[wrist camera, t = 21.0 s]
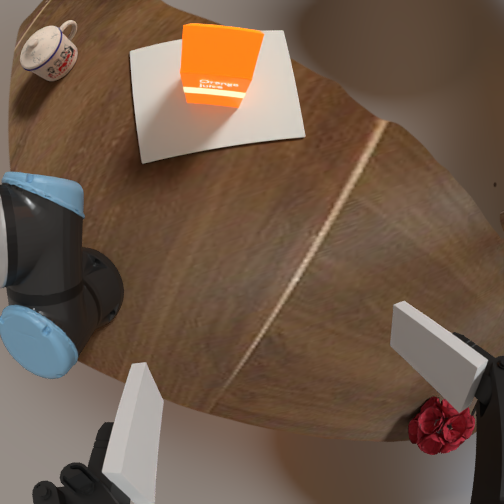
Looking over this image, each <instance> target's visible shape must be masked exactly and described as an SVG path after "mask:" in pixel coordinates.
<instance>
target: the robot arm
mask: <svg viewBox="0 0 504 504" xmlns="http://www.w3.org/2000/svg"><path fill="white" fill-rule="evenodd" d="M83 200H84V193H83V189H82V187H81V186H80V185H79V184H78V183H77V182H75V181H71V180H67V179H62V178H57V177H51V176H44V175H36V174H27V173H21V172H6V173H5V174H4V176H3V179H2V185H0V288H4V287H6V288H7V295H8V302H9V306H7V307H6V308H4V309H3V312H2V315H1V317H0V335H1V338H2V341H3V343H4V345H5V347H6V348H7V350H8V352H9V353H10V354H11V355H12V356H13V358H14V359H15V360H16V361H17V362H18V363H19V364H20V365H21V366H23V367H24V368H25V369H26V370H28V371H30V372H32V373H33V374H35V375H37V376H40V377H43V378H48V379H55V378H60V377H62V376H64V375H65V374H66V373H67V372H68V371H69V370H70V369H71V367H72V366H73V365H75V364H76V362H77V360H78V357H79V355H80V353H81V352H82V350H83V348H84V347H85V345H86V343H87V342H88V340H89V338H90V337H91V335H92V334H93V332H94V330H95V329H97V328H99V327H101V326H103V325H105V324H107V323H109V322H110V321H111V320H112V319H113V318H114V317H115V316H116V314H117V313H118V311H119V309H120V307H121V305H122V302H123V297H124V288H123V282H122V279H121V276H120V274H119V272H118V270H117V268H116V267H115V265H114V264H113V263H112V262H111V261H110V260H109V259H108V258H107V257H106V256H105V255H104V254H102V253H100V252H99V251H96V250H94V249H91V248H82V225H83V219H84V218H85V216H84V213H83ZM390 346H391V347H392V348H393V349H394V350H395V351H397V352H398V353H399V354H400V355H401V356H402V357H403V358H404V359H405V360H406V361H407V362H408V363H409V364H410V365H411V366H412V367H413V368H414V369H415V370H416V371H417V372H418V373H419V374H420V375H421V376H422V377H423V378H424V379H426V380H427V381H428V382H429V383H430V384H431V385H432V386H433V387H434V388H435V389H436V390H437V391H438V392H439V393H440V394H441V395H442V396H443V397H444V398H445V399H446V400H447V401H448V402H449V403H450V404H451V405H452V406H453V407H454V408H455V409H456V410H457V411H458V412H459V413H460V412H462V411H463V410H465V409H466V408H467V407H469V406H470V405H471V403H472V400H473V398H474V396H475V397H476V398H477V399H478V400H477V402H476V405H475V407H474V409H473V411H472V413H471V416H473V415H474V413H475V411H476V418H477V439H476V440H477V441H476V461H475V473H474V482H473V490H472V496H471V503H470V504H504V356H499V357H497V358H495V357H493V356H492V355H490V354H489V353H488V352H486V351H485V350H483V349H482V348H481V347H479V346H478V345H475V343H474V342H472V341H470V340H469V339H468V338H466V337H465V336H464V335H461V334H458V333H455V332H454V333H450V332H449V331H447V330H446V329H445V328H443V327H442V326H440V325H439V324H437V323H436V322H434V321H433V320H432V319H430V318H429V317H427V316H426V315H424V314H423V313H421V312H420V311H418V310H417V309H416V308H414V307H413V306H411V305H410V304H408V303H407V302H405V301H402V302H399V303H397V304H394V305H393V319H392V331H391V341H390ZM163 403H164V401H163V399H162V397H161V395H160V393H159V391H158V388H157V386H156V384H155V382H154V380H153V377H152V375H151V373H150V371H149V368H148V366H147V364H146V362H145V363H136V364H132V366H131V369H130V372H129V375H128V378H127V381H126V384H125V387H124V391H123V394H122V397H121V401H120V404H119V407H118V411H117V414H116V418H115V422H107V423H106V422H105V423H104V424H103V425H102V426H101V428H100V429H99V430H98V433H97V436H96V441H95V443H94V448H93V450H92V453H91V457H90V460H89V464H88V468H87V467H86V466H85V465H84V464H82V463H71V464H68V465H67V466H66V467H64V468H63V470H62V471H61V474H60V480H61V483H62V484H63V485H64V487H56V486H55V485H54V484H53V483H52V482H49V481H41V482H39V483H38V484H37V485H35V487H34V489H33V494H32V495H33V503H34V504H130V499H131V500H132V501H133V502H134V503H135V504H155V486H156V472H157V458H158V448H159V438H160V428H161V419H162V411H163Z"/></svg>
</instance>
